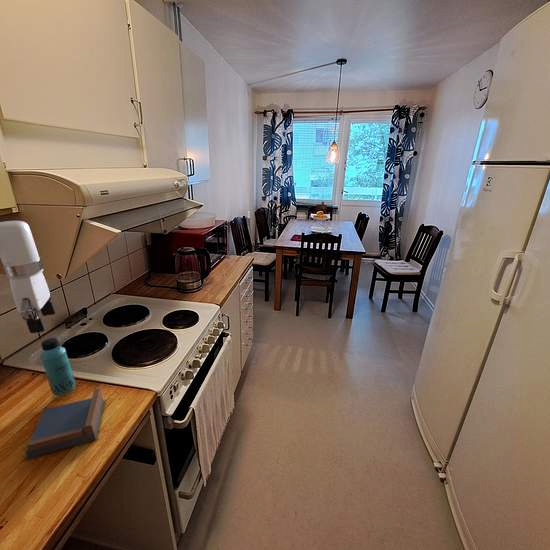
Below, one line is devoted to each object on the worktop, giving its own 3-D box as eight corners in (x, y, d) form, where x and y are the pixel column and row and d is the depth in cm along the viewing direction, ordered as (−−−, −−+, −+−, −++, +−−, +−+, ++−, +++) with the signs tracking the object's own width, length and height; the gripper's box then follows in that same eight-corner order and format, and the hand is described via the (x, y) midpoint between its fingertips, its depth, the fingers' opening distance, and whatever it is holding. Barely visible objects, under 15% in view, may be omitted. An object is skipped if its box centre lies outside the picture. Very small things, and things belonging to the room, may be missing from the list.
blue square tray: (28, 458, 72) (21, 443, 70) (46, 415, 84) (40, 401, 82) (96, 439, 77) (91, 425, 75) (103, 401, 89) (100, 388, 87)
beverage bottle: (48, 397, 90) (28, 345, 83) (67, 383, 96) (50, 333, 89) (65, 402, 89) (46, 349, 81) (83, 386, 95) (67, 336, 87)
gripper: (20, 259, 82) (38, 311, 89) (-10, 282, 67) (15, 342, 74) (51, 256, 85) (67, 307, 91) (29, 278, 70) (49, 336, 77)
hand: (43, 322), depth 83 cm, fingers open, 9 cm apart
